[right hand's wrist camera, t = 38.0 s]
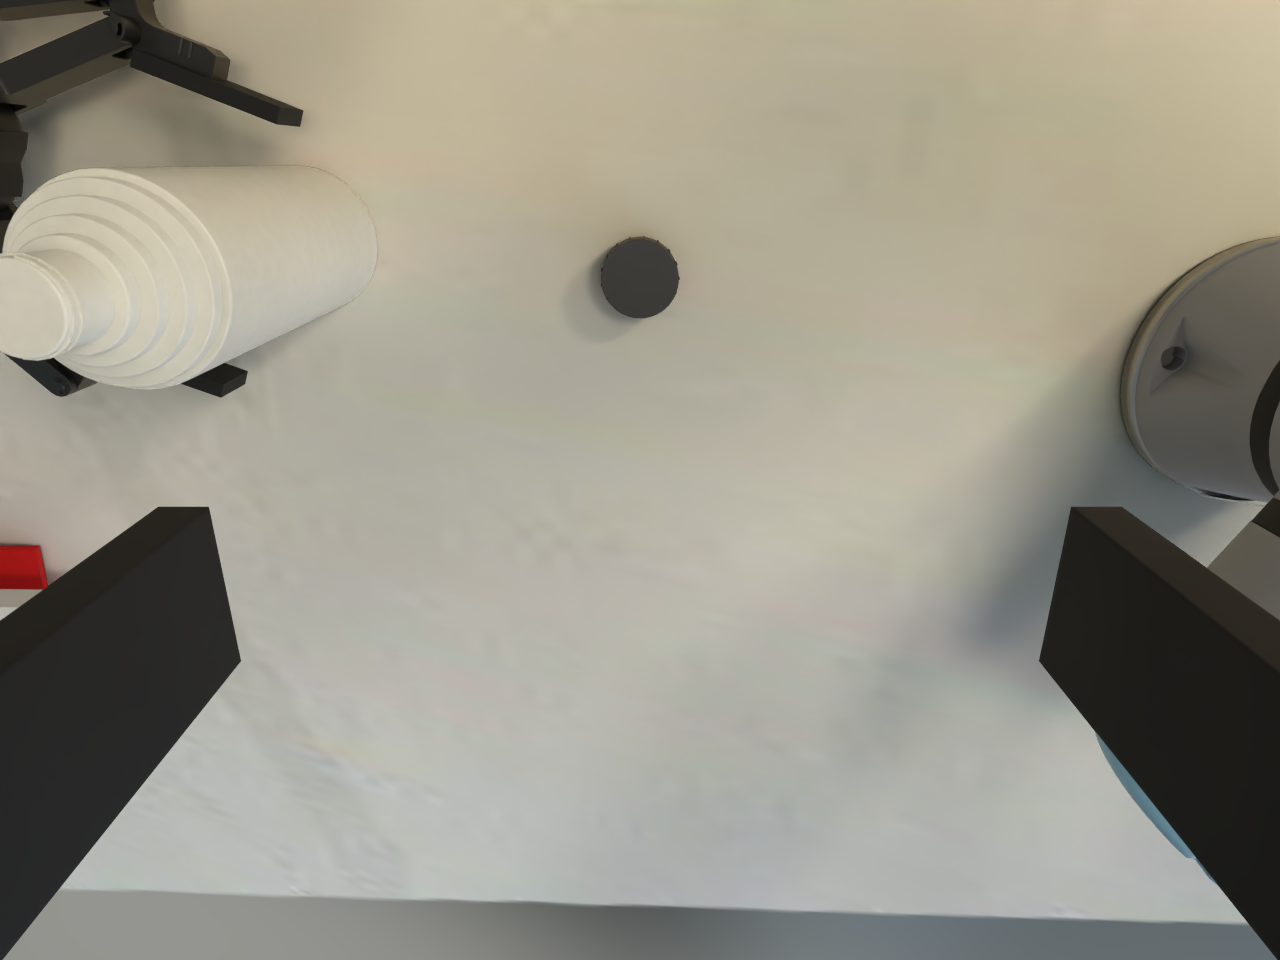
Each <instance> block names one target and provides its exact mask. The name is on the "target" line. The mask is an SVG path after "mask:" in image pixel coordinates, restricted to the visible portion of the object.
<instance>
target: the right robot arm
mask: <svg viewBox="0 0 1280 960" xmlns="http://www.w3.org/2000/svg"><path fill="white" fill-rule="evenodd" d="M1121 409H1122V415H1123V420H1124V423H1125V427H1126V430H1127V432H1128V435H1129V437H1130V439H1131V441H1132V443H1133V445H1134V446H1135V448H1136V449H1137V451H1138V452H1139V453H1140V455H1141V456H1142V457H1143V458H1144V459H1145V460H1146V461H1147V462H1148V463H1149V464H1150V465H1151V466H1152V467H1153V468H1155V469H1156V470H1157V471H1159V472H1160V473H1162V474H1163V475H1165V476H1167V477H1168V478H1170V479H1172V480H1173V481H1175V482H1177V483H1178V484H1180V485H1182V486H1184V487H1186V488H1188V489H1191V490H1193V491H1196V492H1199V493H1203V494H1206V495H1209V496H1213V497H1209V498H1215V499H1221V500H1227V501H1233V502H1238V503H1244V504H1250V505H1256V506H1263V505H1257V504H1251V503H1246V502H1240V501H1234V500H1244V501H1251V500H1257V501H1263V502H1268V503H1267V505H1266V506H1265V507H1264V508H1263V509H1262V510H1261V511H1260V512H1259V513H1258V514H1257V515H1256V517H1255V518H1254V519H1253V520H1251V521H1250V522H1249V523H1248V524H1247V525H1246V526H1245V527H1244V528H1243V530H1242V531H1241V532H1240V533H1239V534H1238V535H1237V536H1236V537H1235V538H1234V539H1233V540H1232V541H1231V542H1230V544H1229V545H1228V546H1227V547H1226V548H1225V549H1224V550H1223V551H1222V552H1221V553H1220V554H1219V555H1218V556H1217V558H1216V559H1215V560H1214V561H1213V562H1212V563H1211V564H1210V565H1209V566H1208V567H1207V568H1206V567H1205V566H1203V565H1202V564H1200V563H1199V562H1198V561H1196V560H1195V559H1193V558H1192V557H1191V556H1189V555H1188V554H1187V553H1185V552H1184V551H1182V550H1181V549H1180V548H1178V547H1177V546H1175V545H1174V544H1173V543H1171V542H1170V541H1168V540H1167V539H1166V538H1164V537H1163V536H1161V535H1160V534H1159V533H1157V532H1156V531H1154V530H1153V529H1152V528H1150V527H1149V526H1148V525H1146V524H1145V523H1143V522H1142V521H1141V520H1139V519H1138V518H1136V517H1135V516H1134V515H1132V514H1131V513H1129V512H1128V511H1127V510H1125V509H1124V508H1122V507H1071V510H1070V515H1069V520H1068V525H1067V530H1066V534H1065V539H1064V544H1063V549H1062V554H1061V558H1060V563H1059V568H1058V573H1057V578H1056V582H1055V587H1054V592H1053V597H1052V602H1051V606H1050V611H1049V616H1048V621H1047V626H1046V630H1045V635H1044V640H1043V645H1042V650H1041V654H1040V659H1039V662H1040V663H1041V664H1042V665H1043V667H1044V668H1045V669H1046V670H1047V672H1048V673H1049V674H1050V675H1051V677H1052V678H1053V679H1054V680H1055V682H1056V683H1057V684H1058V685H1059V687H1060V688H1061V689H1062V690H1063V692H1064V693H1065V694H1066V695H1067V697H1068V698H1069V699H1070V700H1071V702H1072V703H1073V704H1074V705H1075V707H1076V708H1077V709H1078V710H1079V712H1080V713H1081V714H1082V715H1083V717H1084V718H1085V719H1086V720H1087V722H1088V723H1089V724H1090V725H1091V727H1092V728H1093V729H1094V730H1095V733H1096V737H1097V740H1098V742H1099V744H1100V747H1101V749H1102V751H1103V753H1104V755H1105V757H1106V759H1107V761H1108V763H1109V764H1110V766H1111V768H1112V769H1113V771H1114V773H1115V774H1116V776H1117V777H1118V779H1119V780H1120V782H1121V783H1122V785H1123V786H1124V788H1125V789H1126V790H1127V792H1128V793H1129V794H1130V796H1131V797H1132V798H1133V800H1134V801H1135V802H1136V803H1137V805H1138V806H1139V807H1140V808H1141V810H1142V811H1143V812H1144V813H1145V815H1146V816H1147V817H1148V818H1149V819H1150V820H1151V822H1152V823H1153V824H1154V825H1155V826H1156V827H1157V828H1158V830H1159V831H1160V832H1161V833H1162V834H1163V835H1164V836H1165V837H1166V838H1167V839H1168V840H1169V841H1170V842H1171V844H1172V845H1173V846H1174V847H1175V848H1176V849H1177V850H1178V851H1180V852H1181V853H1182V854H1183V855H1184V856H1185V857H1187V858H1193V859H1195V860H1196V861H1197V863H1198V864H1199V865H1200V867H1201V868H1202V869H1203V871H1204V872H1205V873H1206V875H1207V876H1208V877H1209V878H1210V879H1211V880H1212V881H1213V882H1214V883H1216V884H1217V885H1218V886H1219V887H1220V888H1221V890H1222V891H1223V892H1224V893H1225V895H1226V896H1227V897H1228V898H1229V900H1230V901H1231V902H1232V903H1233V905H1234V906H1235V907H1236V908H1237V910H1238V911H1239V912H1240V913H1241V915H1242V916H1243V917H1244V918H1245V920H1246V921H1247V922H1248V923H1249V925H1250V926H1251V927H1252V928H1253V930H1254V931H1255V932H1256V933H1257V935H1258V936H1259V937H1260V938H1261V940H1262V941H1263V942H1264V943H1265V945H1266V946H1267V947H1268V948H1269V950H1270V951H1271V952H1272V953H1273V955H1274V956H1275V957H1276V958H1277V960H1280V237H1272V238H1266V239H1260V240H1256V241H1252V242H1248V243H1245V244H1242V245H1239V246H1236V247H1233V248H1231V249H1229V250H1226V251H1224V252H1222V253H1220V254H1218V255H1216V256H1214V257H1212V258H1210V259H1208V260H1207V261H1205V262H1204V263H1202V264H1200V265H1199V266H1197V267H1196V268H1194V269H1193V270H1192V271H1190V272H1189V273H1188V274H1186V275H1185V276H1184V277H1183V278H1181V279H1180V280H1179V281H1178V282H1177V283H1176V284H1175V285H1174V286H1172V287H1171V288H1170V289H1169V291H1168V292H1167V293H1166V294H1165V295H1164V296H1163V297H1162V298H1161V299H1160V300H1159V301H1158V303H1157V304H1156V305H1155V306H1154V308H1153V309H1152V310H1151V312H1150V313H1149V315H1148V316H1147V317H1146V319H1145V320H1144V322H1143V324H1142V325H1141V327H1140V329H1139V331H1138V332H1137V334H1136V336H1135V339H1134V341H1133V343H1132V345H1131V348H1130V350H1129V353H1128V356H1127V359H1126V362H1125V366H1124V370H1123V376H1122V382H1121ZM1203 497H1207V496H1203ZM1217 497H1218V498H1217ZM1222 498H1223V499H1222ZM1228 499H1231V500H1228ZM240 662H241V659H240V654H239V650H238V645H237V640H236V635H235V630H234V626H233V621H232V616H231V611H230V606H229V602H228V597H227V592H226V587H225V582H224V578H223V573H222V568H221V563H220V558H219V554H218V549H217V544H216V539H215V534H214V530H213V525H212V520H211V515H210V510H209V507H158V508H156V509H155V510H153V511H152V512H151V513H149V514H148V515H146V516H145V517H144V518H142V519H141V520H139V521H138V522H137V523H135V524H134V525H132V526H131V527H130V528H128V529H127V530H126V531H124V532H123V533H121V534H120V535H119V536H117V537H116V538H114V539H113V540H112V541H110V542H109V543H107V544H106V545H105V546H103V547H102V548H100V549H99V550H98V551H96V552H95V553H93V554H92V555H91V556H89V557H88V558H87V559H85V560H84V561H82V562H81V563H80V564H78V565H77V566H75V567H74V568H73V569H71V570H70V571H68V572H67V573H66V574H64V575H63V576H61V577H60V578H59V579H57V580H56V581H54V582H53V583H52V584H50V585H49V586H48V587H46V588H45V589H43V590H42V591H41V592H39V593H38V594H36V595H35V596H34V597H32V598H31V599H29V600H28V601H27V602H25V603H24V604H22V605H21V606H20V607H18V608H17V609H15V610H14V611H13V612H11V613H10V614H9V615H7V616H6V617H4V618H3V619H2V620H0V960H3V958H4V957H5V956H6V955H7V953H8V952H9V951H10V950H11V948H12V947H13V946H14V945H15V943H16V942H17V941H18V940H19V938H20V937H21V936H22V935H23V933H24V932H25V931H26V930H27V928H28V927H29V926H30V925H31V923H32V922H33V921H34V920H35V918H36V917H37V916H38V915H39V913H40V912H41V911H42V910H43V908H44V907H45V906H46V905H47V903H48V902H49V901H50V900H51V898H52V897H53V896H54V895H55V893H56V892H57V891H58V890H59V888H60V887H61V886H62V885H63V883H64V882H65V881H66V880H67V878H68V877H69V876H70V875H71V873H72V872H73V871H74V870H75V868H76V867H77V866H78V864H79V863H80V862H81V861H82V859H83V858H84V857H85V856H86V854H87V853H88V852H89V851H90V849H91V848H92V847H93V846H94V844H95V843H96V842H97V841H98V839H99V838H100V837H101V836H102V834H103V833H104V832H105V831H106V829H107V828H108V827H109V826H110V824H111V823H112V822H113V821H114V819H115V818H116V817H117V816H118V814H119V813H120V812H121V811H122V809H123V808H124V807H125V806H126V804H127V803H128V802H129V801H130V799H131V798H132V797H133V796H134V794H135V793H136V792H137V791H138V789H139V788H140V787H141V786H142V784H143V783H144V782H145V781H146V779H147V778H148V777H149V776H150V774H151V773H152V772H153V771H154V769H155V768H156V767H157V766H158V764H159V763H160V762H161V761H162V759H163V758H164V757H165V756H166V754H167V753H168V752H169V751H170V749H171V748H172V747H173V745H174V744H175V743H176V742H177V740H178V739H179V738H180V737H181V735H182V734H183V733H184V732H185V730H186V729H187V728H188V727H189V725H190V724H191V723H192V722H193V720H194V719H195V718H196V717H197V715H198V714H199V713H200V712H201V710H202V709H203V708H204V707H205V705H206V704H207V703H208V702H209V700H210V699H211V698H212V697H213V695H214V694H215V693H216V692H217V690H218V689H219V688H220V687H221V685H222V684H223V683H224V682H225V680H226V679H227V678H228V677H229V675H230V674H231V673H232V672H233V670H234V669H235V668H236V667H237V665H238V664H239V663H240Z"/></svg>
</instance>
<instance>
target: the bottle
mask: <svg viewBox="0 0 1280 960" xmlns="http://www.w3.org/2000/svg"><path fill="white" fill-rule="evenodd" d="M377 249H378V247H377V237H376V232H375V228H374V225H373V222H372V219H371V217H370V215H369V212H368V210H367V209H366V207H365V205H364V204H363V202H362V201H361V200H360V198H359V197H358V196H357V195H356V193H355V192H354V191H353V190H352V189H351V188H350V187H349V186H347V185H346V184H345V183H344V182H342V181H341V180H340V179H338V178H336V177H335V176H333V175H331V174H329V173H327V172H325V171H323V170H320V169H316V168H313V167H307V166H210V167H122V168H86V169H77V170H74V171H70V172H66V173H63V174H61V175H59V176H56V177H54V178H52V179H50V180H49V181H47V182H46V183H44V184H43V185H41V186H40V187H39V188H38V189H37V190H36V191H35V192H34V193H33V194H31V195H30V196H29V197H28V198H27V199H26V200H25V201H24V202H23V203H22V204H21V205H20V207H19V208H18V209H17V211H16V212H15V213H14V215H13V217H12V219H11V221H10V223H9V225H8V228H7V231H6V234H5V237H4V244H3V250H2V253H1V254H0V351H1V352H3V353H5V354H7V355H10V356H13V357H17V358H22V359H23V360H35V361H39V360H45V359H50V358H53V357H54V358H55V359H56V360H57V361H58V362H60V363H61V364H63V365H64V366H66V367H67V368H69V369H70V370H72V371H74V372H76V373H78V374H80V375H82V376H84V377H86V378H89V379H92V380H94V381H97V382H100V383H104V384H108V385H112V386H119V387H124V388H131V389H141V390H153V389H162V388H167V387H171V386H175V385H178V384H180V383H183V382H185V381H188V380H190V379H192V378H194V377H196V376H198V375H200V374H202V373H204V372H206V371H208V370H211V369H213V368H215V367H217V366H219V365H221V364H223V363H225V362H227V361H229V360H231V359H233V358H235V357H237V356H240V355H242V354H244V353H246V352H248V351H250V350H252V349H254V348H256V347H258V346H260V345H262V344H264V343H266V342H269V341H271V340H273V339H275V338H277V337H279V336H281V335H283V334H285V333H287V332H289V331H291V330H293V329H295V328H297V327H300V326H302V325H304V324H306V323H308V322H310V321H312V320H314V319H316V318H318V317H320V316H322V315H324V314H326V313H329V312H331V311H333V310H335V309H337V308H339V307H341V306H343V305H345V304H347V303H348V302H350V301H352V300H353V299H354V298H356V297H357V296H358V295H359V294H360V293H361V292H362V291H363V290H364V289H365V287H366V286H367V284H368V283H369V281H370V279H371V277H372V275H373V272H374V269H375V266H376V260H377Z"/></svg>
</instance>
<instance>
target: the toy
mask: <svg viewBox="0 0 1280 960" xmlns="http://www.w3.org/2000/svg"><path fill="white" fill-rule="evenodd" d="M46 587H48V583H47V579H46V574H45V570H44V565H43V560H42V556H41V551H40V547H39V546H0V620H2V619H3V618H4V617H6V616H7V615H9V614H10V613H11V612H13V611H14V610H15V609H17V608H18V607H20V606H21V605H22V604H24V603H25V602H27V601H28V600H29V599H31V598H32V597H34V596H35V595H36V594H38V593H39V592H41V591H42V590H43V589H45V588H46Z"/></svg>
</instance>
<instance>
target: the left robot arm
mask: <svg viewBox="0 0 1280 960" xmlns="http://www.w3.org/2000/svg"><path fill="white" fill-rule="evenodd" d="M154 1H155V0H0V21H9V20H20V19H29V18H38V17H46V16H55V15H64V14H73V13H82V12H90V11H99V10H108V9H110V11H104V12H103V13H104V15H108V16H109V17H107V18H104V19H102V20H100V21H97V22H95V23H93V24H91V25H88V26H86V27H84V28H81V29H79V30H77V31H74V32H72V33H70V34H68V35H65V36H63V37H61V38H58V39H56V40H54V41H51V42H49V43H47V44H44V45H42V46H40V47H38V48H35V49H33V50H31V51H28V52H26V53H24V54H21V55H19V56H17V57H15V58H12V59H10V60H8V61H5V62H3V63H1V64H0V254H1V253H2V250H3V244H4V237H5V234H6V231H7V228H8V225H9V223H10V221H11V219H12V217H13V215H14V213H15V212H16V211H17V209H18V208H17V207H16V206H15V205H14V203H13V201H14V199H15V197H22V188H23V177H22V171H21V161H22V158H23V156H24V154H25V151H26V149H27V139H28V132H25V131H22V127H21V123H20V121H19V119H18V117H17V115H18V114H20V113H23V112H25V111H27V110H30V109H32V108H34V107H37V106H39V105H41V104H43V103H45V102H46V99H47V98H49V97H51V96H54V95H56V94H59V93H61V92H63V91H66V90H68V89H70V88H73V87H75V86H77V85H80V84H82V83H84V82H87V81H89V80H91V79H94V78H96V77H99V76H101V75H103V74H106V73H108V72H110V71H113V70H115V69H117V68H120V67H122V66H124V65H127V64H129V63H131V64H130V67H133V68H135V69H138V70H140V71H143V72H145V73H148V74H150V75H153V76H155V77H158V78H161V79H163V80H166V81H168V82H171V83H173V84H176V85H178V86H181V87H183V88H186V89H188V90H191V91H194V92H196V93H199V94H201V95H204V96H206V97H209V98H211V99H214V100H216V101H219V102H222V103H224V104H227V105H229V106H232V107H234V108H237V109H239V110H242V111H244V112H247V113H249V114H252V115H255V116H257V117H260V118H262V119H265V120H267V121H270V122H272V123H275V124H280V125H289V126H299V127H300V124H301V119H302V115H303V110H300V109H298V108H295V107H293V106H290V105H288V104H285V103H283V102H280V101H278V100H275V99H273V98H270V97H268V96H265V95H263V94H260V93H258V92H255V91H253V90H250V89H248V88H245V87H243V86H240V85H238V84H235V83H233V82H230V81H228V80H227V76H228V71H229V65H230V59H229V58H228V57H227V56H225V55H224V54H223V53H222V52H221V51H219V50H217V49H214V48H212V47H209V46H207V45H204V44H202V43H199V42H197V41H194V40H192V39H189V38H187V37H184V36H182V35H179V34H177V33H174V32H172V31H169V30H167V29H166V28H164V27H163V26H162V25H161V24H160V23H159V21H158V19H157V17H156V15H155V11H154V5H153V2H154ZM4 354H5V353H4ZM5 355H7V354H5ZM7 356H8V357H9V358H10V359H12V360H13V361H14V362H15V363H16V364H18V365H19V366H20V367H21V368H22V369H24V370H25V371H26V372H27V373H29V374H30V375H31V376H32V377H33V378H35V379H36V380H37V381H38V382H39V383H41V384H42V385H43V386H44V387H45V388H47V389H48V390H49V391H50V392H52V393H53V394H55V395H56V396H61V397H62V396H67V395H69V394H72V393H74V392H77V391H79V390H81V389H84V388H86V387H89V386H91V385H94V384H96V383H97V381H94V380H92V379H89V378H86V377H84V376H82V375H80V374H78V373H76V372H74V371H72V370H70V369H69V368H67V367H66V366H64V365H63V364H61V363H60V362H58V361H57V360H56V359H55V358H54V357H53V358H50V359H45V360H39V361H35V360H23V359H22V358H17V357H13V356H10V355H7ZM247 372H248V371H246V370H243V369H240V368H237V367H234V366H231V365H229V364H226V363H223V364H221V365H219V366H217V367H215V368H213V369H211V370H208V371H206V372H204V373H202V374H200V375H198V376H196V377H194V378H192V379H190V380H188V381H185V382H183V383H181V384H183V385H186V386H189V387H192V388H195V389H198V390H201V391H204V392H206V393H209V394H212V395H215V396H218V397H223V396H225V395H226V394H228V393H230V392H232V391H233V390H235V389H237V388H239V387H241V386H242V385H244V384H245V382H246V377H247Z"/></svg>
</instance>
